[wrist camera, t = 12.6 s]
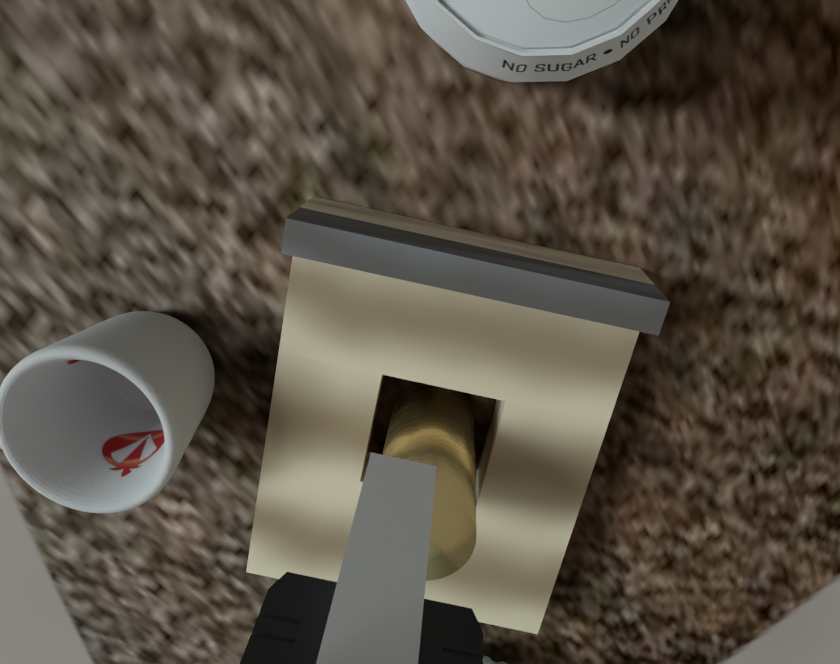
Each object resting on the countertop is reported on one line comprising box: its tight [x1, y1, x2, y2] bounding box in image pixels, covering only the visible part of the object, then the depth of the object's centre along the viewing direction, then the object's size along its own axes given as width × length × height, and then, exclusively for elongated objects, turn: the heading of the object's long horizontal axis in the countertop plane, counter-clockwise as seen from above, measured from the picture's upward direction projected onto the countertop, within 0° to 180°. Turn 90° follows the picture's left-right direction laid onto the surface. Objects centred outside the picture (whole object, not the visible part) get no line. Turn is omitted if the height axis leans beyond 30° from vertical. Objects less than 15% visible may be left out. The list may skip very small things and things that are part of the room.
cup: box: [0, 311, 215, 513], centre depth 34 cm, size 11×8×8 cm
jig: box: [246, 197, 670, 634], centre depth 35 cm, size 20×16×6 cm
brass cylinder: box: [382, 383, 476, 581], centre depth 33 cm, size 4×4×10 cm
